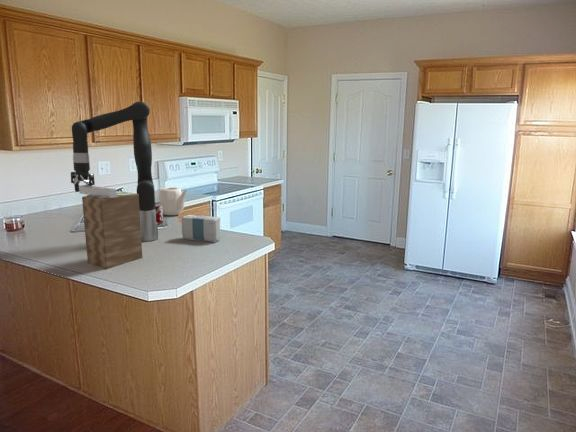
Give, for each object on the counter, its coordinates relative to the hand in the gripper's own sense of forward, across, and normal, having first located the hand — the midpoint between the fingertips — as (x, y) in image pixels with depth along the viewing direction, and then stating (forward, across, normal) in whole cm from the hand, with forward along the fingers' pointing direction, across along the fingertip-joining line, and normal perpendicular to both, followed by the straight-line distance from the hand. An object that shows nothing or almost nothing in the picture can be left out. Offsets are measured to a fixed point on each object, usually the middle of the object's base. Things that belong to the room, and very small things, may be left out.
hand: (83, 192), depth 231 cm
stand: (+28, +34, -13) cm, 46 cm away
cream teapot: (+28, -9, +84) cm, 89 cm away
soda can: (+28, -1, +58) cm, 64 cm away
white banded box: (+27, +48, +37) cm, 67 cm away
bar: (-4, +29, -17) cm, 34 cm away
